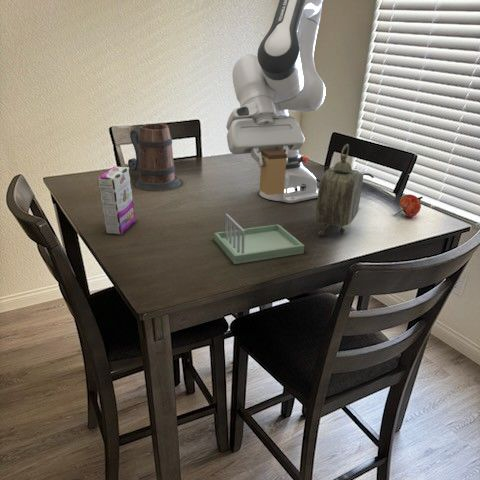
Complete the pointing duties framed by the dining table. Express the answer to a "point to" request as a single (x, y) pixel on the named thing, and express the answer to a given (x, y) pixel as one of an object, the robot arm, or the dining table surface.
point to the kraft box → (273, 172)
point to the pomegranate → (410, 205)
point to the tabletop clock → (339, 195)
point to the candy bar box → (116, 199)
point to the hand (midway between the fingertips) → (273, 165)
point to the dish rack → (256, 242)
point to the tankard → (153, 158)
